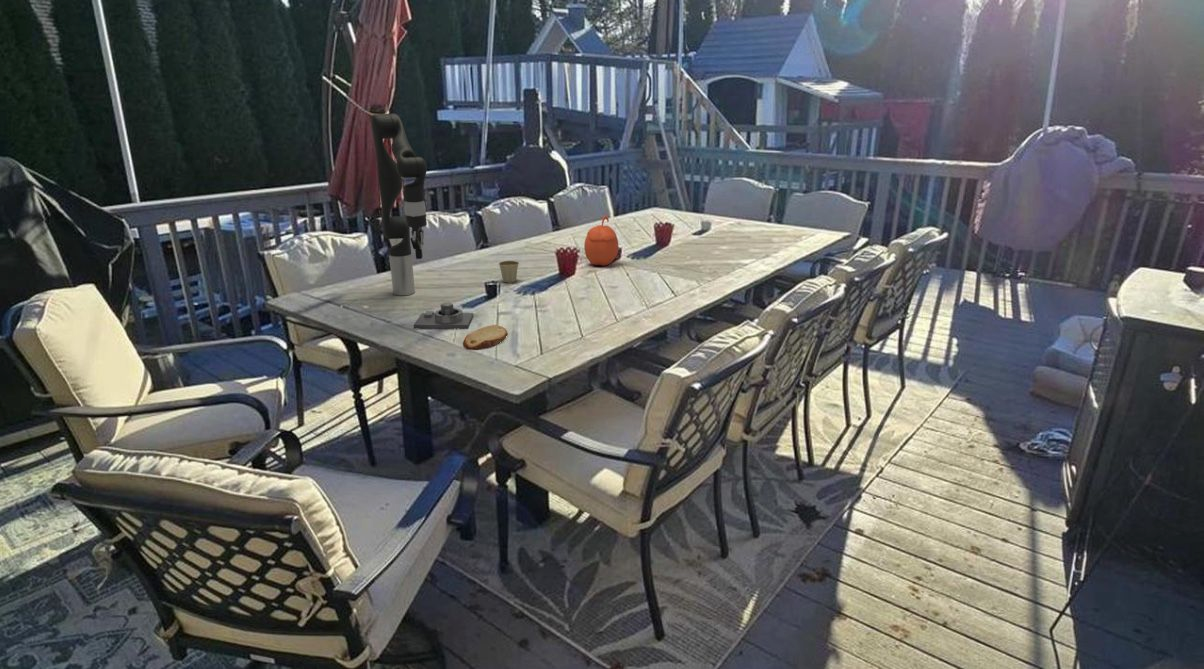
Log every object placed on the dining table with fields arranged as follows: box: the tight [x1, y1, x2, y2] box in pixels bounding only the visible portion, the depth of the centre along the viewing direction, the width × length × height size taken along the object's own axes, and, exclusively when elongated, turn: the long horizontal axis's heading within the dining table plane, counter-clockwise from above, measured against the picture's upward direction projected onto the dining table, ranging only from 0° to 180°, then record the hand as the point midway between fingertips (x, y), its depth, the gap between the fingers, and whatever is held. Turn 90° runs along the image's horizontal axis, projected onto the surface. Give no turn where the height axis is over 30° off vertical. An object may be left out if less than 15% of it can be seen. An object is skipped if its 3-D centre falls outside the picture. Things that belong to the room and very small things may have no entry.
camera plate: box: [413, 310, 475, 330], centre depth 248 cm, size 14×20×3 cm
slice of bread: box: [462, 324, 509, 351], centre depth 232 cm, size 18×18×4 cm
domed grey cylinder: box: [440, 302, 454, 315], centre depth 246 cm, size 6×5×6 cm
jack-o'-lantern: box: [584, 215, 619, 267], centre depth 330 cm, size 18×17×25 cm
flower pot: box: [498, 260, 520, 284], centre depth 302 cm, size 9×9×9 cm
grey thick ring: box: [434, 307, 464, 324], centre depth 247 cm, size 10×10×3 cm
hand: (419, 258), depth 247 cm, fingers closed
